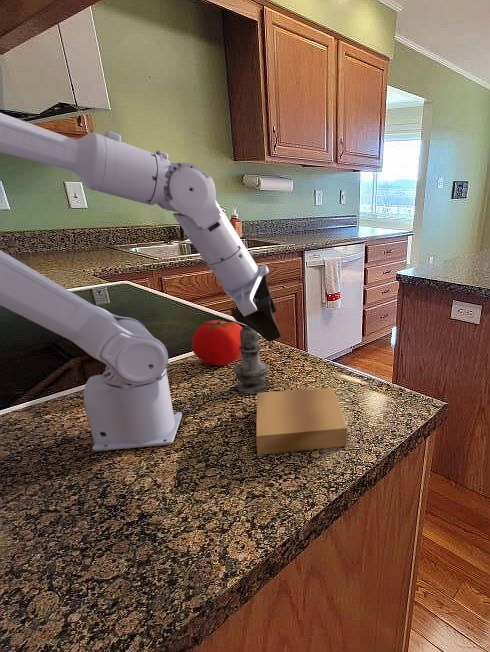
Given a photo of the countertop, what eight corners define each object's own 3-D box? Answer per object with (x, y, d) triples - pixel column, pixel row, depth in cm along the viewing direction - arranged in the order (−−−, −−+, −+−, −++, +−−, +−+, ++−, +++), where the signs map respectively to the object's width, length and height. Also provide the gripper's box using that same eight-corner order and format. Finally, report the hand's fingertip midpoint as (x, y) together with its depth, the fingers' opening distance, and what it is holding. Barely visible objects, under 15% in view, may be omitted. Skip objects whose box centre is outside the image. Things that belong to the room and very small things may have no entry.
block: (257, 455, 52) (256, 436, 51) (258, 409, 63) (257, 392, 62) (346, 446, 55) (347, 427, 54) (332, 403, 66) (333, 387, 64)
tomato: (188, 358, 79) (183, 318, 76) (238, 349, 85) (235, 311, 82) (203, 375, 72) (197, 332, 69) (256, 364, 78) (253, 323, 75)
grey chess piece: (260, 396, 66) (256, 329, 62) (228, 391, 67) (222, 324, 63) (275, 381, 72) (272, 318, 67) (245, 377, 73) (240, 314, 68)
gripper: (252, 261, 49) (301, 339, 58) (248, 222, 60) (289, 293, 69) (201, 285, 49) (258, 360, 58) (206, 242, 60) (253, 310, 69)
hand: (272, 325), depth 63 cm, fingers open, 7 cm apart
